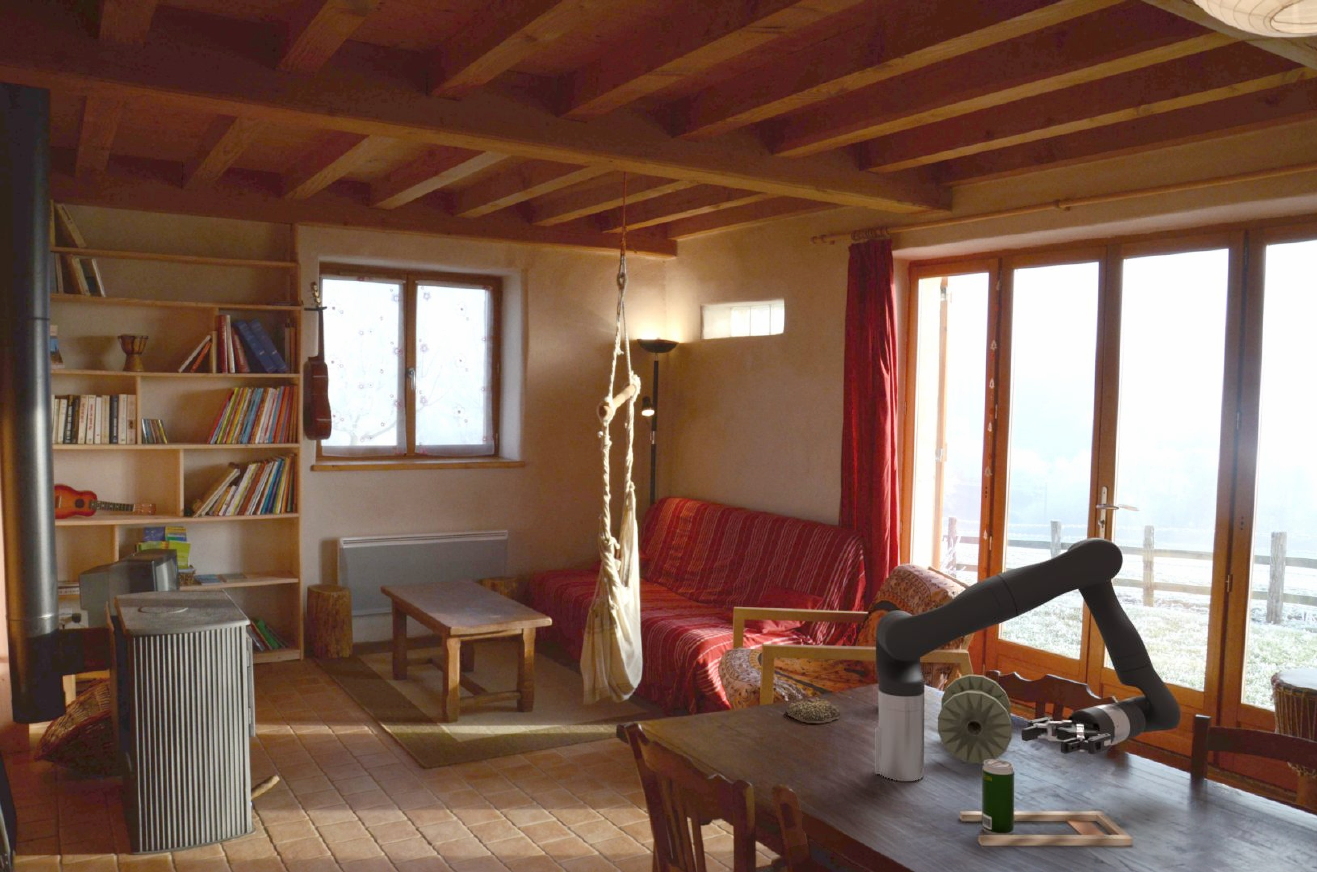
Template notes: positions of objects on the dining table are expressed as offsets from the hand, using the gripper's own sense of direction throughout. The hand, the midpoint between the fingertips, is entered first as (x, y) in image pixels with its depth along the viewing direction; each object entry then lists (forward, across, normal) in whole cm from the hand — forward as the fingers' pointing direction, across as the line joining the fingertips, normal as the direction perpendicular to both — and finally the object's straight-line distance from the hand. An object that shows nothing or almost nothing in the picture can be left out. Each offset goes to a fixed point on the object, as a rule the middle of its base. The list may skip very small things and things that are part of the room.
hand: (1042, 741), depth 182 cm
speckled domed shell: (-5, -72, +14) cm, 73 cm away
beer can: (+12, 0, +14) cm, 18 cm away
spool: (-19, -33, +14) cm, 41 cm away
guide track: (+5, +4, +14) cm, 15 cm away
